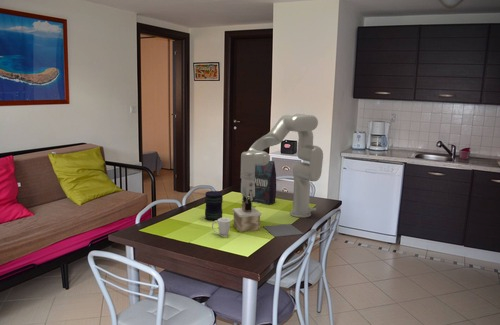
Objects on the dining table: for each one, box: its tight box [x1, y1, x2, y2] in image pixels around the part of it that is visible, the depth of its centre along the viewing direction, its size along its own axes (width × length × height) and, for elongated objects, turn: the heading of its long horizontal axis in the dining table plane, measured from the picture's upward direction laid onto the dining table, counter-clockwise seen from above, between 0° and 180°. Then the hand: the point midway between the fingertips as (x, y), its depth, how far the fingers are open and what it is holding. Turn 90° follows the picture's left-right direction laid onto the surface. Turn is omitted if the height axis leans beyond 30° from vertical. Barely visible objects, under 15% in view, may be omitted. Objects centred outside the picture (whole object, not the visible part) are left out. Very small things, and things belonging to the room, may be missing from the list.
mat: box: [262, 223, 304, 238], centre depth 223 cm, size 16×16×1 cm
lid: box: [232, 200, 262, 217], centre depth 225 cm, size 12×12×6 cm
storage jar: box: [204, 190, 224, 222], centre depth 238 cm, size 10×10×15 cm
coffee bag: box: [252, 160, 277, 206], centre depth 275 cm, size 8×16×28 cm, turn 57°
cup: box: [211, 217, 232, 237], centre depth 214 cm, size 7×10×8 cm
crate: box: [232, 212, 261, 233], centre depth 226 cm, size 11×11×8 cm
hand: (246, 208), depth 225 cm, fingers closed on lid, 4 cm apart
